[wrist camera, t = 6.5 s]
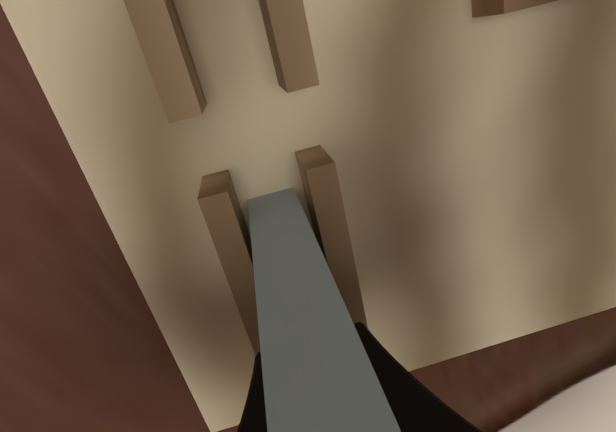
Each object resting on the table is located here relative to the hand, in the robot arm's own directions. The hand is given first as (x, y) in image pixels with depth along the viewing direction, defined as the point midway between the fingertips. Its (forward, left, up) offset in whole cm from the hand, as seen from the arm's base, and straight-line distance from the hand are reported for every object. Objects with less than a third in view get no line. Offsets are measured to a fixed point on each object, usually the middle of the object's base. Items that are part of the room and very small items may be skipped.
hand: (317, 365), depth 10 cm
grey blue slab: (0, 0, -4) cm, 4 cm away
